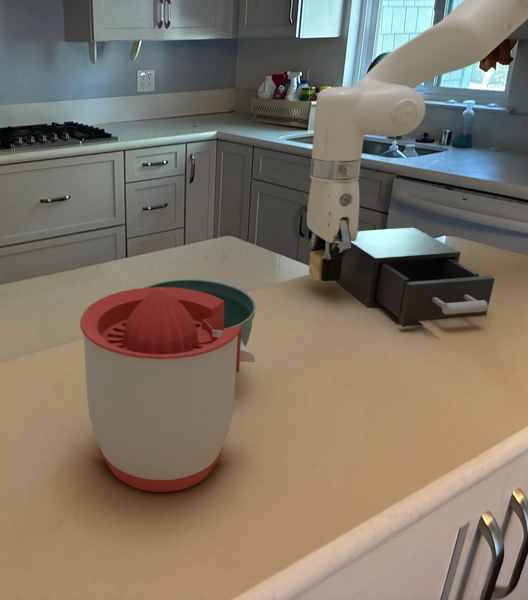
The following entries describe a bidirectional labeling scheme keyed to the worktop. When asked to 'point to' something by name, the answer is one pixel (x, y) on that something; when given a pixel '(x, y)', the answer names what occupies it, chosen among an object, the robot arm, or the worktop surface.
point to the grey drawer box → (385, 257)
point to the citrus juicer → (161, 383)
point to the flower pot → (235, 300)
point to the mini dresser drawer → (431, 290)
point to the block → (317, 263)
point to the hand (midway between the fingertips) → (324, 273)
